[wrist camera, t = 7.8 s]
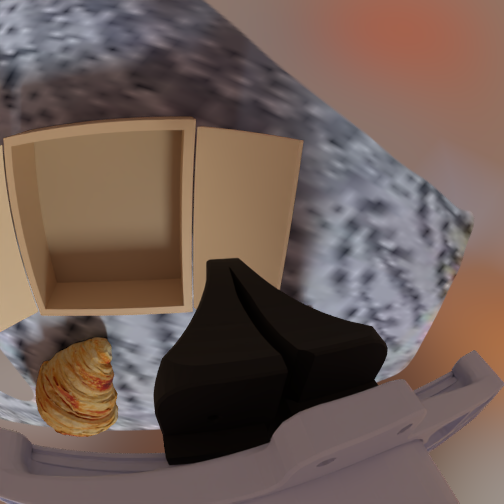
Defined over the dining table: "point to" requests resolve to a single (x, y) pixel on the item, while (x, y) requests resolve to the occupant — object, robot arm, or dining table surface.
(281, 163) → the flap
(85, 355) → the croissant
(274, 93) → the dining table surface
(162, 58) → the dining table surface
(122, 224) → the carton
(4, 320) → the flap
